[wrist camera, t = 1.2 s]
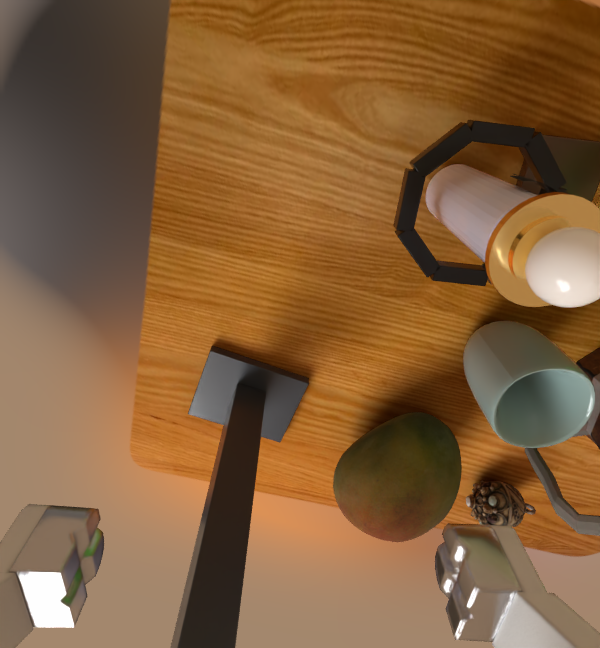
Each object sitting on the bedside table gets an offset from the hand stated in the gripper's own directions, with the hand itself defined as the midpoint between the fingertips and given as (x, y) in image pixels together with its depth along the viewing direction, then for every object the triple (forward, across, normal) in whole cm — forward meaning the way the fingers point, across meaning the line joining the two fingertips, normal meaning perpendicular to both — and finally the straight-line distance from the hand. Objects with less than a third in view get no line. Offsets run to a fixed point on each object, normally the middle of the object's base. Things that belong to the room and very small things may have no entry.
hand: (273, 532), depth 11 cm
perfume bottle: (+30, -13, -3) cm, 33 cm away
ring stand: (+30, -16, -3) cm, 34 cm away
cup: (+30, -20, +11) cm, 38 cm away
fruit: (+30, -12, +23) cm, 40 cm away
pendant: (+30, -25, +29) cm, 49 cm away
